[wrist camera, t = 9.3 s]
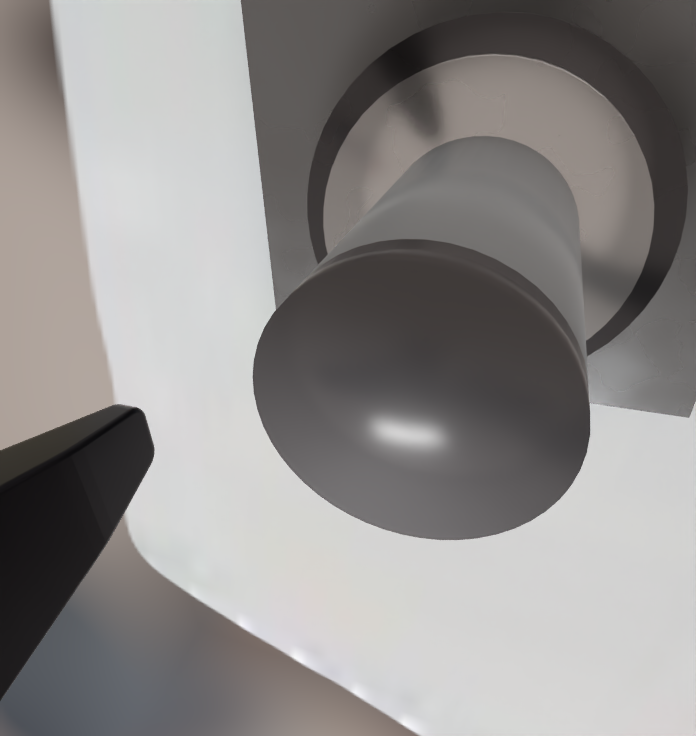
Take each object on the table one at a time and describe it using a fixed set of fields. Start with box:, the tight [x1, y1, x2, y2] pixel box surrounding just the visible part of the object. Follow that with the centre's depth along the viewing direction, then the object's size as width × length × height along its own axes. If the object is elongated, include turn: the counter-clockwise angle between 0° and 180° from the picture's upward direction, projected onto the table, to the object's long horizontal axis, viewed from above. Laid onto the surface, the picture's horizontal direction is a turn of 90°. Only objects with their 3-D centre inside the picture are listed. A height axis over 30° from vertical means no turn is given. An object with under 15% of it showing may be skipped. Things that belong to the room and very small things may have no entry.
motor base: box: [241, 0, 696, 418], centre depth 16 cm, size 14×12×3 cm
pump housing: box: [253, 136, 590, 540], centre depth 11 cm, size 5×5×8 cm
